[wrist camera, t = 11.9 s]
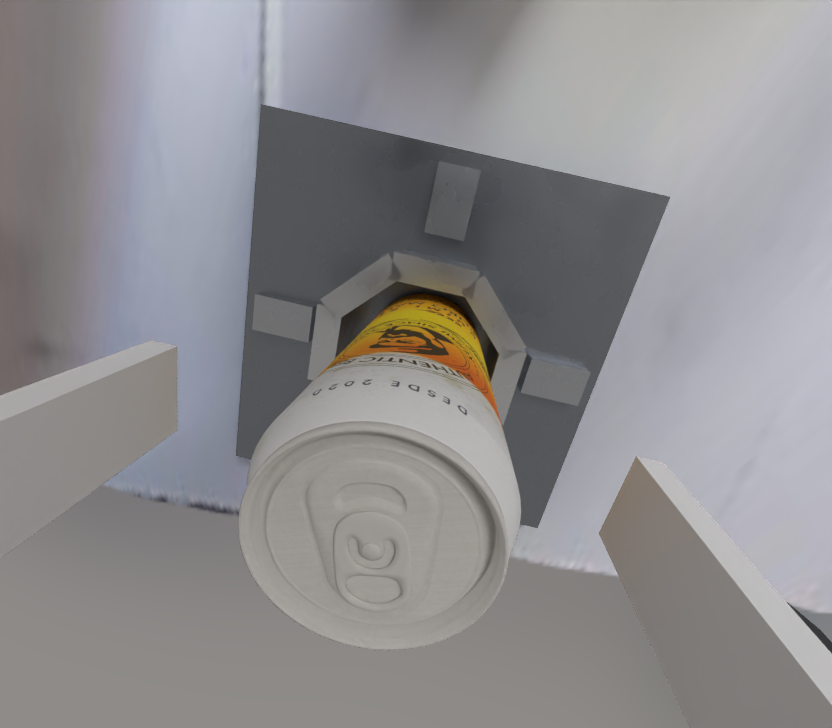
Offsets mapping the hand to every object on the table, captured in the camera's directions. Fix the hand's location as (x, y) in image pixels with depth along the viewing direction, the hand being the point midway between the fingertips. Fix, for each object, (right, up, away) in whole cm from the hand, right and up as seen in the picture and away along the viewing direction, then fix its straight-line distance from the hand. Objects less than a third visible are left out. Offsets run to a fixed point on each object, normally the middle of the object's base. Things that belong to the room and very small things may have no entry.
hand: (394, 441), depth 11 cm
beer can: (+1, +3, +11) cm, 11 cm away
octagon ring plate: (+1, +4, +12) cm, 12 cm away
